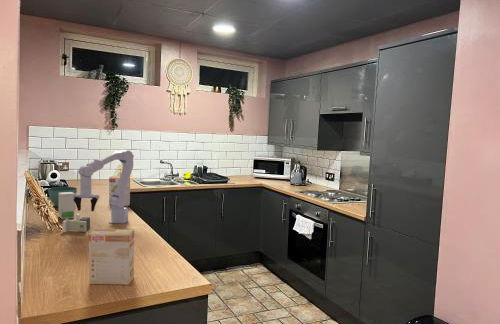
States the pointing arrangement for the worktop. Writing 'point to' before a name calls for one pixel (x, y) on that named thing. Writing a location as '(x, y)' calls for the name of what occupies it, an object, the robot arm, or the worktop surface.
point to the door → (77, 225)
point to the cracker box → (113, 186)
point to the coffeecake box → (111, 256)
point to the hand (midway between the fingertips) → (86, 210)
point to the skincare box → (66, 205)
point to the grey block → (86, 221)
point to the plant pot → (54, 192)
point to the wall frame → (65, 223)
